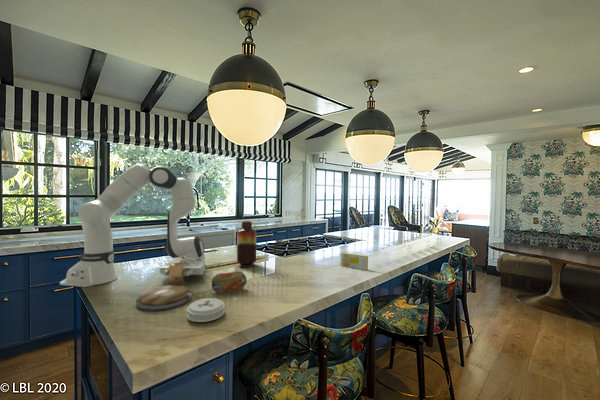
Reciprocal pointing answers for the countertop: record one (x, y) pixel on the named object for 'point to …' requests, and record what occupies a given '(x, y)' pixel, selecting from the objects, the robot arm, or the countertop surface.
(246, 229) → the brown bottle
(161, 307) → the turntable base
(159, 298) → the turntable
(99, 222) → the robot arm
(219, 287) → the tin
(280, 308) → the countertop surface
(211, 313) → the lid
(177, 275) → the canister
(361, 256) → the candy box
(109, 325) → the countertop surface
